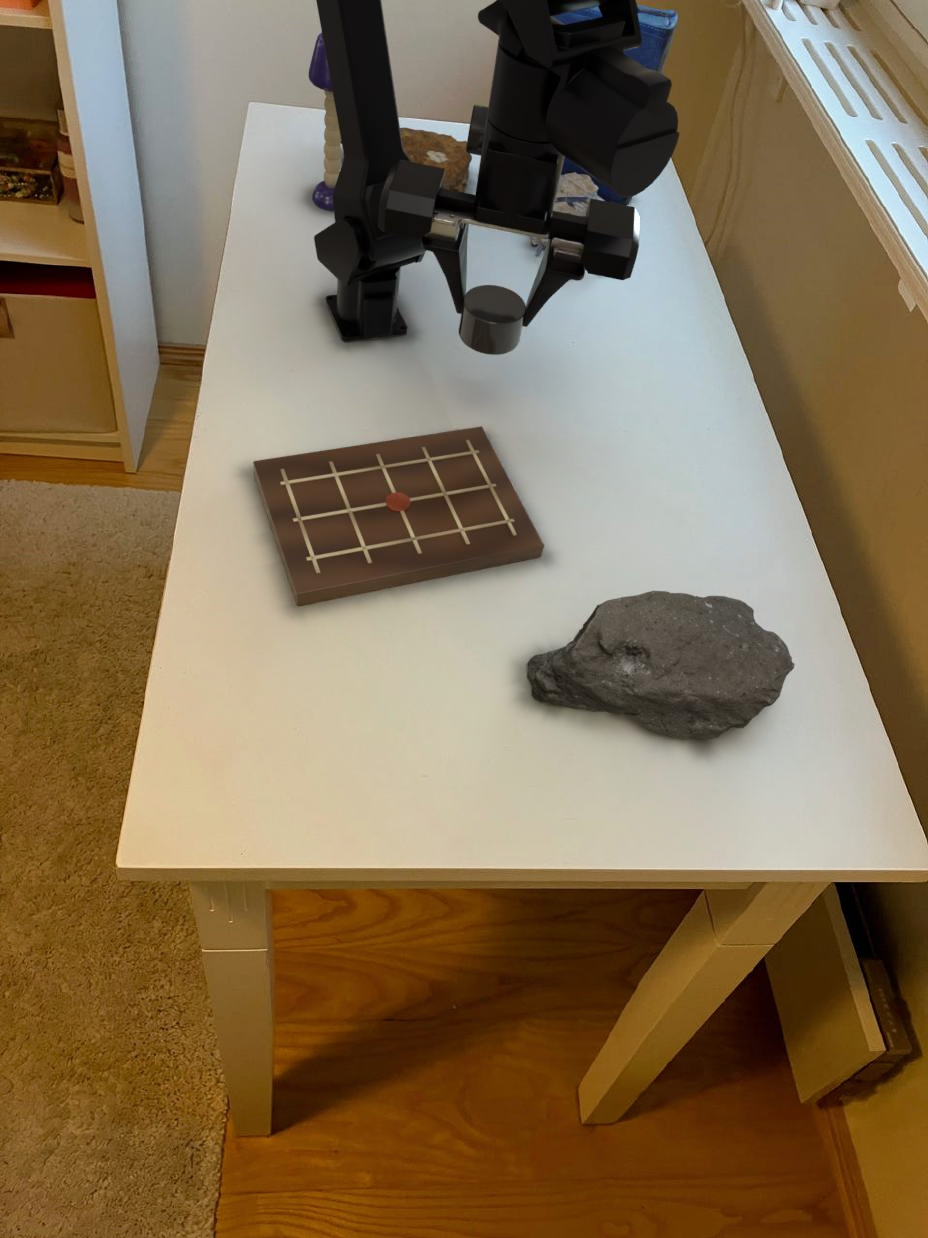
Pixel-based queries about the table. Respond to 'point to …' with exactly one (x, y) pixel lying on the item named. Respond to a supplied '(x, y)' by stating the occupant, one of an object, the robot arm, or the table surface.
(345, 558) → the game board
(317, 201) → the toy lamp
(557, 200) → the mineral specimen
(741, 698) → the stone
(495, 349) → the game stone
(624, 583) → the table surface
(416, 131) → the decorative rock
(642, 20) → the book
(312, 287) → the table surface
